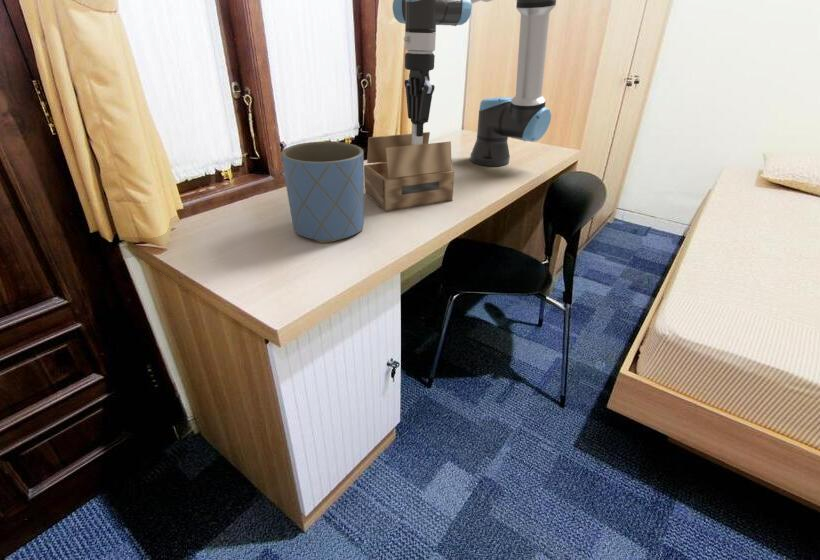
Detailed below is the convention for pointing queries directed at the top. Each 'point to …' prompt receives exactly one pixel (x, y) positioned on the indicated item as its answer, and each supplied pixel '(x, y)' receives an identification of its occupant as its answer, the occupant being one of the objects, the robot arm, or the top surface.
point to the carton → (407, 188)
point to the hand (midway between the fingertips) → (417, 147)
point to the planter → (325, 189)
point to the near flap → (418, 159)
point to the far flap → (389, 145)
